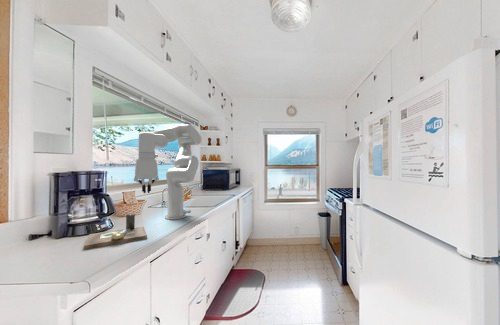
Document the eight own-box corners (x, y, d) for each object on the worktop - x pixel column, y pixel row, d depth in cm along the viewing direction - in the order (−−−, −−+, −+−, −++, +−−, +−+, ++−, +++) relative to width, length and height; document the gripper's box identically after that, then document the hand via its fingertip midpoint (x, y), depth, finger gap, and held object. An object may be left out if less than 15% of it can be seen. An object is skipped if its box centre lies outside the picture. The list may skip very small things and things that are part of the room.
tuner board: (143, 229, 105) (143, 226, 105) (146, 238, 91) (147, 234, 91) (89, 237, 93) (89, 233, 93) (84, 249, 79) (84, 245, 80)
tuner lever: (120, 239, 85) (121, 222, 85) (109, 240, 85) (109, 222, 85) (136, 228, 101) (136, 213, 101) (127, 228, 101) (127, 214, 101)
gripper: (161, 157, 111) (161, 191, 111) (128, 156, 103) (128, 193, 102) (164, 156, 105) (164, 192, 105) (129, 155, 97) (129, 194, 96)
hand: (146, 192), depth 104 cm, fingers closed
